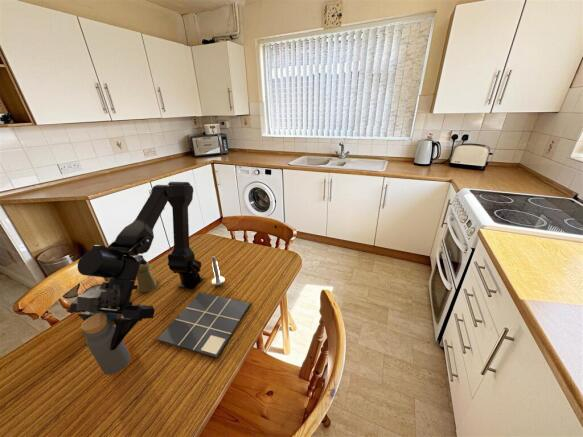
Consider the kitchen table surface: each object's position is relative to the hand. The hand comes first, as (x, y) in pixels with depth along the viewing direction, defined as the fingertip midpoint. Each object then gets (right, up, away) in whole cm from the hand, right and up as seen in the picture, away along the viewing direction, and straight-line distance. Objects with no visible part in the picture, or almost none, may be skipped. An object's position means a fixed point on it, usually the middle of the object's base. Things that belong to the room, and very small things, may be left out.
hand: (101, 348), depth 55 cm
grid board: (+18, -2, +20) cm, 27 cm away
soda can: (-15, -3, +22) cm, 27 cm away
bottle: (0, -6, +5) cm, 8 cm away
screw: (+17, +5, +35) cm, 39 cm away
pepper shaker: (-10, +4, +35) cm, 37 cm away
